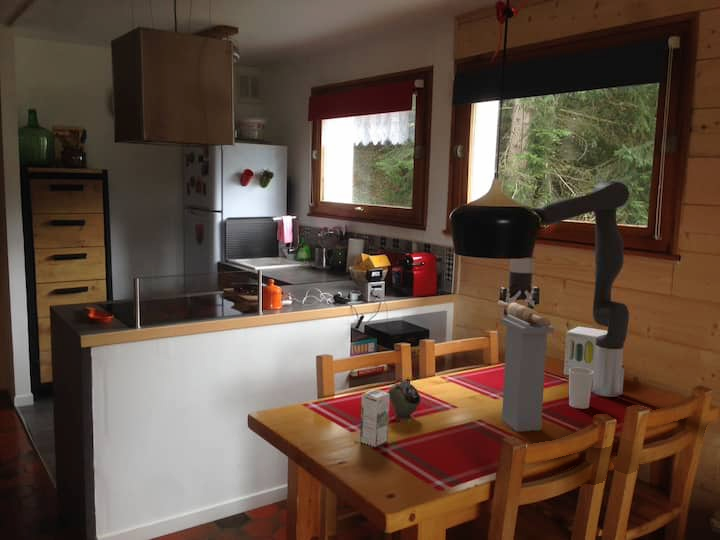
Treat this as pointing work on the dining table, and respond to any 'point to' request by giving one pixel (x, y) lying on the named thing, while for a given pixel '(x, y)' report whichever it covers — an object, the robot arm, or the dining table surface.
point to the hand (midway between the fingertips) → (518, 317)
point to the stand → (524, 373)
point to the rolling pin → (523, 313)
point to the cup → (580, 387)
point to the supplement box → (581, 348)
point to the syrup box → (374, 417)
